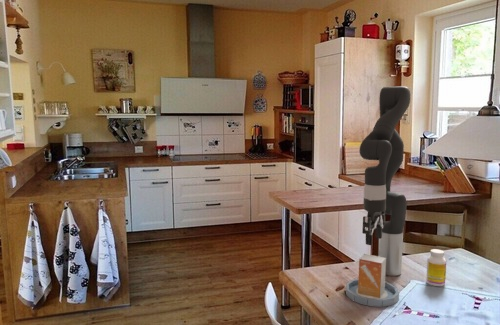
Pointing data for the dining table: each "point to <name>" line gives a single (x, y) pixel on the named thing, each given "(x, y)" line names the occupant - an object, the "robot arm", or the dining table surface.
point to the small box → (372, 275)
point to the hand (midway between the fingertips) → (373, 241)
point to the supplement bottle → (436, 268)
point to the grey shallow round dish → (386, 299)
